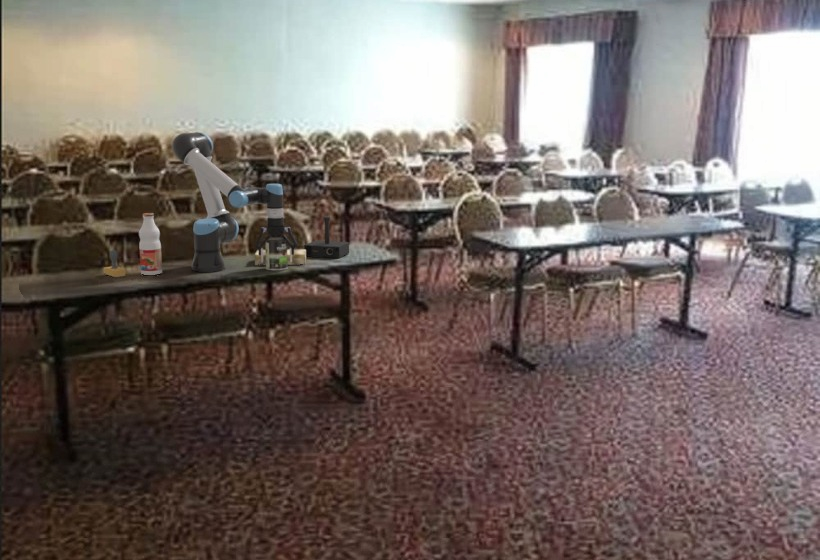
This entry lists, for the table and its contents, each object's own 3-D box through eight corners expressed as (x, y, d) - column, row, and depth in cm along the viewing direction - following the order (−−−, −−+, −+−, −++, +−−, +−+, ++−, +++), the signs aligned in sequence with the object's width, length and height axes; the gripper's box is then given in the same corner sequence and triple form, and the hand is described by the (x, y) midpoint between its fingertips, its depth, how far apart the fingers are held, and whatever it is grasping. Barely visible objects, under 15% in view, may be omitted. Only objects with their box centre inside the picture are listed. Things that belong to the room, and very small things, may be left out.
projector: (302, 257, 443) (301, 218, 439) (315, 252, 458) (314, 214, 454) (337, 259, 437) (337, 220, 433) (349, 254, 453) (349, 215, 449)
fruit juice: (166, 274, 399) (162, 213, 393) (147, 277, 393) (143, 215, 387) (156, 271, 406) (152, 211, 400) (137, 274, 400) (133, 213, 394)
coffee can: (292, 268, 415) (291, 238, 412) (276, 271, 407) (275, 241, 404) (277, 265, 421) (276, 236, 418) (261, 268, 413) (260, 239, 410)
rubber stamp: (126, 276, 395) (124, 250, 392) (114, 278, 391) (112, 252, 388) (115, 273, 402) (113, 247, 399) (103, 275, 398) (101, 249, 395)
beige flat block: (255, 265, 421) (254, 255, 420) (257, 259, 435) (257, 250, 434) (305, 264, 423) (304, 254, 422) (306, 259, 437) (305, 249, 436)
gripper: (247, 218, 404) (249, 263, 408) (301, 217, 406) (302, 262, 410) (249, 216, 411) (250, 260, 416) (302, 215, 413) (303, 260, 418)
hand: (276, 261), depth 413 cm, fingers open, 13 cm apart
